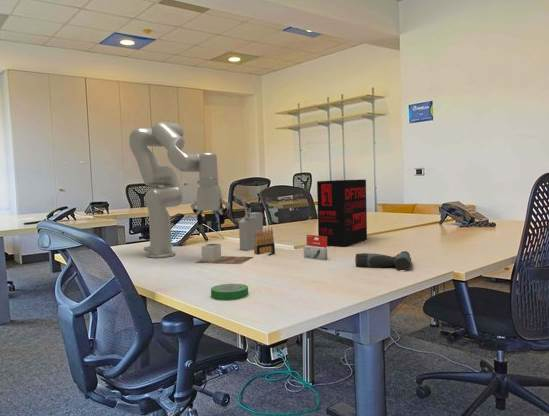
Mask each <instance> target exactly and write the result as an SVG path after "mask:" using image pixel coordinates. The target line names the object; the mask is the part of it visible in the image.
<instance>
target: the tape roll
mask: <svg viewBox="0 0 549 416" xmlns="http://www.w3.org/2000/svg"><path fill="white" fill-rule="evenodd" d="M247 295H249V286H248V285H246V284H244V283H243V284H242V283H223V284H217V285H214V286H212V287H210V296H211V299H214V300H217V301H218V300H219V301H234V300H235V301H236V300H241V299H244V298H245V297H248V296H247ZM243 297H244V298H243ZM240 298H241V299H240Z"/></svg>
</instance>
